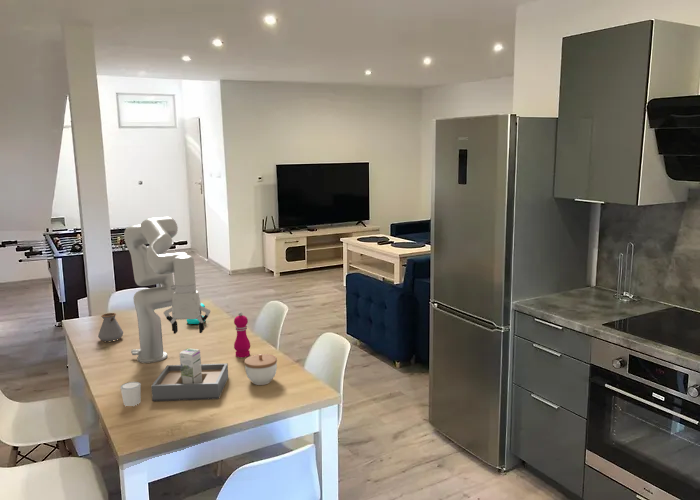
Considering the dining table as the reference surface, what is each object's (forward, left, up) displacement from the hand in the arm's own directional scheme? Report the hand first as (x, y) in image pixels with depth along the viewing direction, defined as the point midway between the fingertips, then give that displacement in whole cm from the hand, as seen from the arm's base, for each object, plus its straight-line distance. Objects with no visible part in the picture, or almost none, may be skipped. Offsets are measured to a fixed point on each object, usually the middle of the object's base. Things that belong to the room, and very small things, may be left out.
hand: (188, 332), depth 207 cm
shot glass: (-19, -12, -23) cm, 32 cm away
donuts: (-19, +87, -23) cm, 92 cm away
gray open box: (0, -1, -22) cm, 22 cm away
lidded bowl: (+26, +4, -23) cm, 35 cm away
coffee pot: (-52, +57, -23) cm, 81 cm away
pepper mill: (+14, +34, -23) cm, 43 cm away
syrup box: (0, -1, -22) cm, 22 cm away
